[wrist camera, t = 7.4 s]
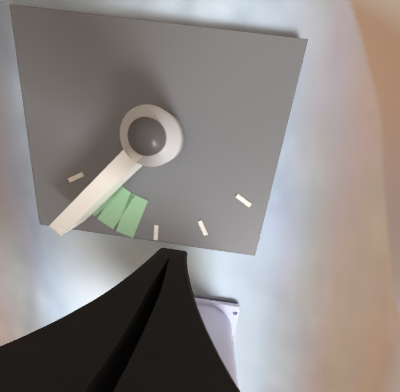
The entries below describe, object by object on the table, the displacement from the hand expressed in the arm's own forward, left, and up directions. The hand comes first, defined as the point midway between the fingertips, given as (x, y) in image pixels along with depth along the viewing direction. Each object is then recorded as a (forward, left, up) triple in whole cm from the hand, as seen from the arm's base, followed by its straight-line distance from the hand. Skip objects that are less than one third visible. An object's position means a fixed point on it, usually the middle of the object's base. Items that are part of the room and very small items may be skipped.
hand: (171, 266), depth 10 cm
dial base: (+5, +4, -9) cm, 11 cm away
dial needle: (+3, +6, -8) cm, 10 cm away
